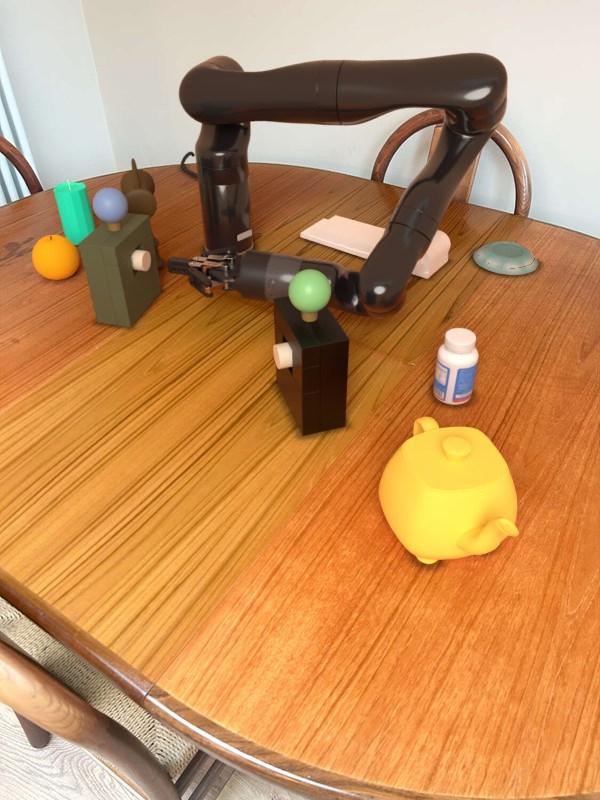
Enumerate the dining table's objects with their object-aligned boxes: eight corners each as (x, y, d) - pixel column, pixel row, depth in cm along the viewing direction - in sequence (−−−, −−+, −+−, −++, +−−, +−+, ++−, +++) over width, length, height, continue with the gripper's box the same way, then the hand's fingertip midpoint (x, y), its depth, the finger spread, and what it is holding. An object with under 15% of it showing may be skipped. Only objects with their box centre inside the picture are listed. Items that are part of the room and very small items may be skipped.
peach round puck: (152, 265, 106) (149, 247, 104) (143, 274, 104) (140, 256, 102) (138, 263, 107) (135, 245, 105) (130, 273, 105) (126, 254, 102)
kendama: (165, 253, 126) (149, 147, 113) (169, 276, 119) (152, 166, 106) (133, 256, 125) (113, 150, 112) (135, 281, 118) (114, 170, 105)
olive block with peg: (161, 291, 115) (143, 175, 102) (130, 327, 106) (106, 206, 93) (130, 286, 116) (108, 172, 103) (97, 322, 107) (68, 202, 94)
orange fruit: (35, 288, 116) (23, 249, 111) (40, 267, 122) (29, 229, 117) (81, 283, 117) (72, 244, 112) (84, 262, 123) (75, 225, 118)
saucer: (469, 234, 126) (468, 245, 127) (481, 264, 117) (479, 275, 118) (531, 234, 125) (529, 245, 127) (548, 264, 116) (545, 275, 118)
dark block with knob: (302, 436, 86) (301, 301, 73) (276, 382, 94) (271, 253, 81) (345, 426, 87) (351, 292, 74) (315, 374, 96) (317, 246, 83)
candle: (89, 246, 128) (75, 186, 121) (60, 243, 129) (45, 184, 122) (102, 232, 133) (89, 174, 125) (74, 230, 134) (60, 172, 126)
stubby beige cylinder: (280, 374, 84) (279, 353, 82) (273, 360, 86) (272, 340, 84) (298, 370, 84) (298, 350, 82) (290, 356, 87) (290, 336, 85)
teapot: (461, 461, 82) (478, 381, 74) (551, 595, 67) (584, 513, 59) (357, 484, 79) (363, 403, 71) (427, 629, 64) (444, 547, 56)
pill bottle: (473, 386, 93) (485, 328, 87) (468, 409, 89) (480, 351, 83) (435, 378, 95) (444, 321, 89) (428, 401, 91) (437, 343, 85)
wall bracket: (324, 187, 130) (453, 223, 117) (328, 217, 136) (451, 255, 123) (295, 216, 125) (426, 257, 113) (300, 246, 131) (426, 288, 119)
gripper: (262, 321, 97) (155, 306, 101) (286, 278, 107) (188, 266, 111) (259, 276, 93) (147, 262, 96) (285, 236, 102) (182, 224, 106)
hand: (169, 264), depth 103 cm, fingers closed
